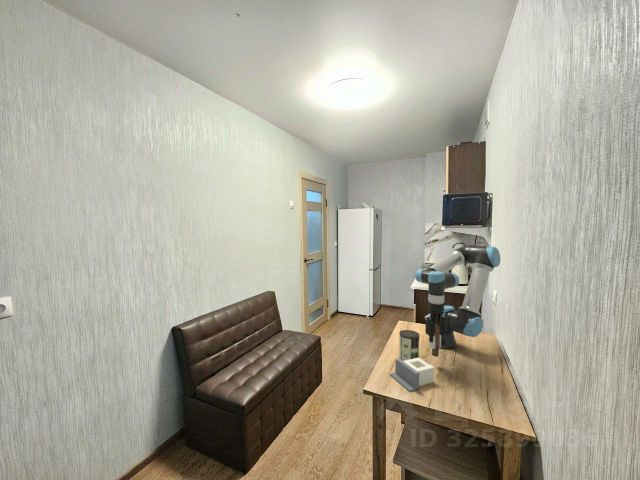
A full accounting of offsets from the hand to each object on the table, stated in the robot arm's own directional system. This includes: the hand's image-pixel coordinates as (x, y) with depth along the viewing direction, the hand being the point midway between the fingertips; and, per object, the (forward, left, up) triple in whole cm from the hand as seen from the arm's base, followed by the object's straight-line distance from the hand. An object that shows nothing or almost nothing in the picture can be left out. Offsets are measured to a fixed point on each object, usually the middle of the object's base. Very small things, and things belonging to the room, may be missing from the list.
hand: (435, 347), depth 138 cm
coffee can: (+8, -11, -10) cm, 17 cm away
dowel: (0, 0, -4) cm, 4 cm away
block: (+17, +6, -10) cm, 20 cm away
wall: (+24, +6, -10) cm, 27 cm away
